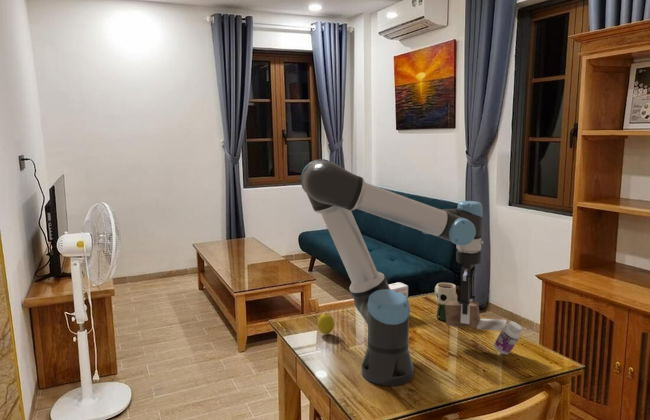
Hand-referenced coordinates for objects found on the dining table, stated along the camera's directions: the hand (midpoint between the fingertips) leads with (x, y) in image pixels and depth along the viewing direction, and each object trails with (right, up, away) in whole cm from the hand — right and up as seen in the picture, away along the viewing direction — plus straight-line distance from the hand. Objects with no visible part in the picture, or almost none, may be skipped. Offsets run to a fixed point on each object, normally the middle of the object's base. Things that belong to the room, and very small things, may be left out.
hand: (466, 320), depth 161 cm
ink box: (-19, -5, +29) cm, 35 cm away
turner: (+4, -1, -2) cm, 4 cm away
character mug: (-1, -5, +25) cm, 25 cm away
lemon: (-45, -8, +11) cm, 47 cm away
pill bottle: (+10, -9, -4) cm, 14 cm away
